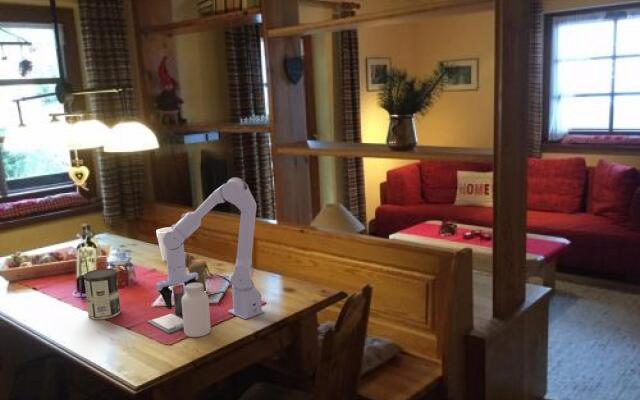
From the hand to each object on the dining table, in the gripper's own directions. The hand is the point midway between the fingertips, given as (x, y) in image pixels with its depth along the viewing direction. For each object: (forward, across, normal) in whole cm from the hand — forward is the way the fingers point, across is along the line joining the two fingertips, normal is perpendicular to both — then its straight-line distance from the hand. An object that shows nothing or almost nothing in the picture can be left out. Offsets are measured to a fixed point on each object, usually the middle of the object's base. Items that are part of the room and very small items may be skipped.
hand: (179, 305), depth 188 cm
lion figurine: (+3, -25, -29) cm, 39 cm away
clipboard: (+3, +6, +5) cm, 9 cm away
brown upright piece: (+3, -15, -12) cm, 19 cm away
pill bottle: (+3, +4, +17) cm, 18 cm away
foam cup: (+3, -30, -57) cm, 64 cm away
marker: (+3, 0, 0) cm, 3 cm away
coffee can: (+3, +17, -19) cm, 26 cm away
